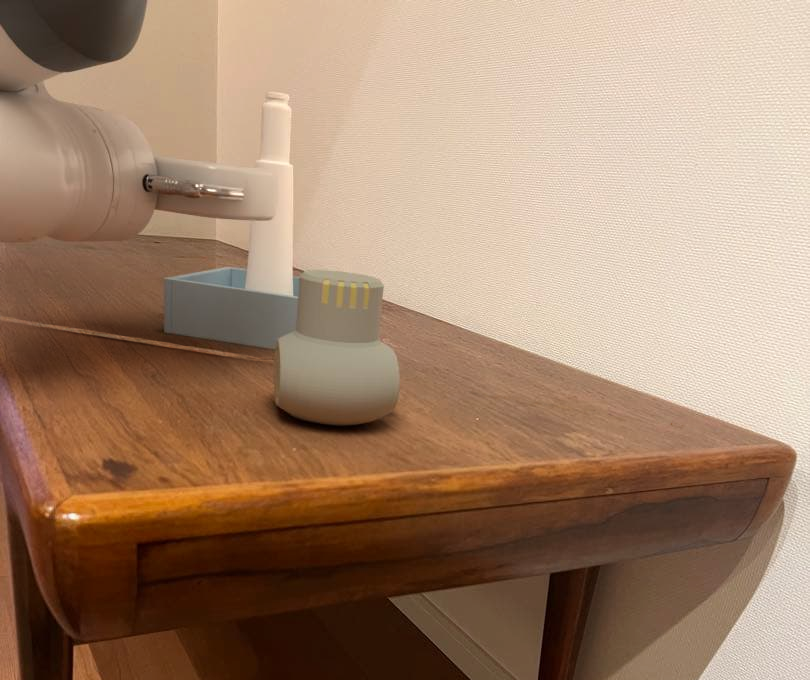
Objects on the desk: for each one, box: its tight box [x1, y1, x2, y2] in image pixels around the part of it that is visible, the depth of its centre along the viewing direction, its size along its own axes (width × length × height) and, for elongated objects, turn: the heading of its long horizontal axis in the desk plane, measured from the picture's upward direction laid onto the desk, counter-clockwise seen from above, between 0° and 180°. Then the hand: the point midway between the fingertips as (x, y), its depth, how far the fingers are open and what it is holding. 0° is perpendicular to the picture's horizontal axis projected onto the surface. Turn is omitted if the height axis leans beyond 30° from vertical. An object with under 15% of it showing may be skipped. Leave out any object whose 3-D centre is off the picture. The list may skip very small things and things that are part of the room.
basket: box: [163, 266, 299, 350], centre depth 81 cm, size 16×16×6 cm
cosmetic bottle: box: [245, 91, 294, 296], centre depth 77 cm, size 6×6×22 cm
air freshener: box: [273, 269, 401, 427], centre depth 56 cm, size 11×8×10 cm
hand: (211, 185), depth 68 cm, fingers open, 8 cm apart
